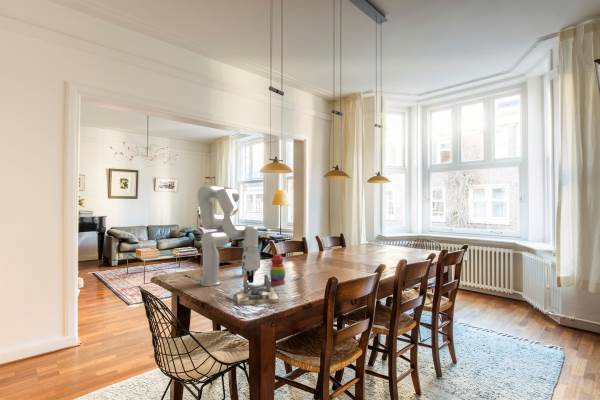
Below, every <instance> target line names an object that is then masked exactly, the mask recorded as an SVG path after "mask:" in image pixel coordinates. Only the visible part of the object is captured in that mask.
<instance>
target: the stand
mask: <svg viewBox="0 0 600 400" xmlns="http://www.w3.org/2000/svg"><path fill="white" fill-rule="evenodd" d="M235 296H236V300H237V305H238V306H243V305H246V306H247V305H259V304H274V303H276V304H277V303H279V300H280V299H279V297H278V294H277V293H276V292H275V290H274V289H273V287H271V292H264V291H263V294H261V295H251V294H250V292H249V293H244V288H243V289H236V290H235Z"/></svg>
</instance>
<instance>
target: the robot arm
mask: <svg viewBox="0 0 600 400" xmlns="http://www.w3.org/2000/svg"><path fill="white" fill-rule="evenodd" d="M196 197H197V198H196V199H197V201H198V205H199V211H200V217H201V224H202V225H201V226H202V227H203V229H204V230H207V232H205V233H203V234H202V236H201V237H200V238H201V239H200V242H201V248H202V276H200V277H194V281H196V282H199V285H200V286H203V287H213V286H214V287H215V286H219V285H221V284H222V281H221V280H220V276H219V275H220V272H219V271H220V253H219V251H218V248H219V247H225V246H226V245H228V244H229V241H230V239H231V240H241V239H243V240H244V241H243V248H242V249H243V253H242V255H243V256H242V257H241V270H242V269H243V273H246V275H248V279H247V280H248V284H253V283H254V278H255V276H254V275H255V274H256V272H257V271H259V269H260V268H261V256H260V251H259V228H258V226H254V225H252V226H251V225H247V224H240V225H235V224H234V222H233V220H232V216H234V215H235V214H237V213H238V211H239V207H238V205H237V204H236V203H237V202H238V201H239V199H240V194H239V192H238V190H237V189H235V188H232V187H228V186H223V185H214V184H213V185H212V184H206V185H202V186H201V187H200V188H198V190H197V196H196ZM211 200H217V202H218V204H219V206H220V208H221V210H222V212H223V214H221V213H216V210H215V205H214V204H213V202H212V201H211ZM208 230H211V231H208ZM212 230H214V231H212Z"/></svg>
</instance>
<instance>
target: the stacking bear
mask: <svg viewBox="0 0 600 400" xmlns="http://www.w3.org/2000/svg"><path fill="white" fill-rule="evenodd" d="M270 261H271V267H270V272H269V275H270V280H271V286H280V285H284V284H285V281H286V280H285V278H286V277H285V276H286V268H285V265H284V264H283V261H284V257H283V256H282V255H281V254H279V253H278V254H275V255H273V257H272V258H270Z"/></svg>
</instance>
